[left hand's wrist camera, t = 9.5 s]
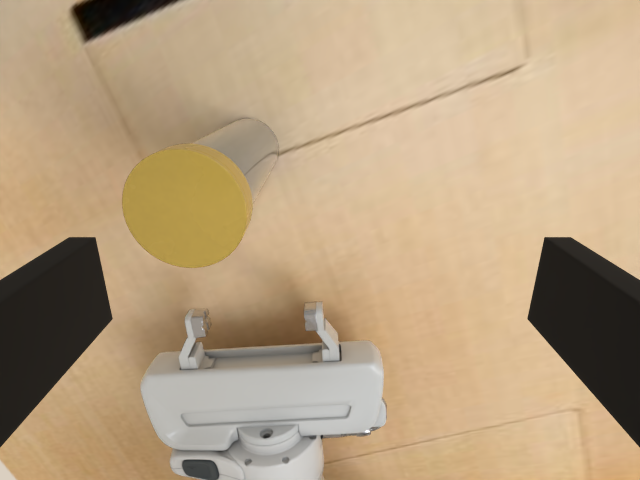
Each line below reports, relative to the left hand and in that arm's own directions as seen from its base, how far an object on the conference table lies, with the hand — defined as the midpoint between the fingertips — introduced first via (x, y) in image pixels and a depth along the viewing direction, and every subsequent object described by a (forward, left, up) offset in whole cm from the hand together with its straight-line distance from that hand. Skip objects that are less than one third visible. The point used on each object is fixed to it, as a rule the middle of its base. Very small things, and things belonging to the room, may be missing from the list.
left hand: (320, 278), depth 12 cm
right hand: (+13, -2, -18) cm, 22 cm away
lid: (+2, -6, -7) cm, 9 cm away
